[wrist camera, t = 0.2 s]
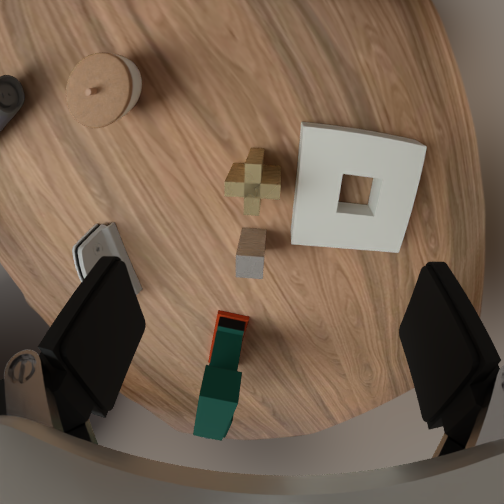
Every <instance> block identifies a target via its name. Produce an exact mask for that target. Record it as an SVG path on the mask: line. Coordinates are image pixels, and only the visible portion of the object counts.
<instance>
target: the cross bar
mask: <svg viewBox="0 0 504 504" xmlns="http://www.w3.org/2000/svg"><path fill="white" fill-rule="evenodd" d="M280 189H281V166H277V165H264V149H263V148H250V151H249V154H248V157H247V159H246V162H245V164H244V163H233V165H232V167H231V169H230V171H229V173H228V175H227V178H226V180H225V196H230V197H244V215H255V216H259V212H260V205H261V198H263V199H277V200H280Z"/></svg>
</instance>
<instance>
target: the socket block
mask: <svg viewBox="0 0 504 504" xmlns="http://www.w3.org/2000/svg"><path fill="white" fill-rule="evenodd" d="M426 149H427V147H426V146H425V145H423V144H422V143H420V142H418V141H417V140H414V139H409V138H405V137H400V136H395V135H390V134H385V133H380V132H374V131H368V130H362V129H356V128H349V127H343V126H335V125H327V124H319V123H310V122H301V132H300V144H299V155H298V166H297V176H296V186H295V196H294V206H293V215H292V224H291V244H295V245H308V246H321V247H334V248H347V249H359V250H371V251H384V252H395V253H399V250H400V247H401V244H402V241H403V238H404V235H405V231H406V228H407V225H408V221H409V218H410V215H411V211H412V207H413V204H414V200H415V196H416V192H417V188H418V184H419V180H420V176H421V172H422V167H423V163H424V158H425V154H426ZM343 174H349V175H357V176H364V177H372V178H373V182H372V187H371V192H370V197H369V202H368V205H363V204H355V203H345V202H338V200H339V194H340V188H341V182H342V176H343Z"/></svg>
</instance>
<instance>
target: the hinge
mask: <svg viewBox="0 0 504 504" xmlns="http://www.w3.org/2000/svg"><path fill="white" fill-rule="evenodd" d="M72 251H73V258H74V263H75V267H76V270H77V273H78V276H79V278H80V280H81V282H82V281H83V280H84V278H85V277H86V276H87V274H88V273H89V272H90V270H91V269H92V268H93V267H94V265H95V264H96V263H97V261H98V260H99V259H100V258H101V257H102V256H118V257H119V258H120V259H121V261H124V262H125V264H126V267H127V270H128V273H129V276H130V279H131V282H132V285H133V288H134V291H135V294H136V295H137V294H138V293H139V292H140V291H141V290H142V287H141V285H140V282H139V280H138V278H137V276H136V273H135V271H134V269H133V266H132V264H131V262H130V259H129V257H128V255H127V252H126V250H125V247H124V245H123V242H122V240H121V237H120V235H119V232H118V230H117V227H116V225H115V223H114V222H112V223H111V224H110V225H108V226H105V225H103V224H101V225H100V226H98V224H96V225H94V226H93V227H92V228H91V229H90V230H89V231H88V232H87V233H86V234H85V235H84V236H83V237H82V238H81V239H80V240H79V241H78V242H77V243H76V244H75V245H74V246H73V249H72Z"/></svg>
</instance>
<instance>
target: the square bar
mask: <svg viewBox="0 0 504 504" xmlns="http://www.w3.org/2000/svg"><path fill="white" fill-rule="evenodd" d="M265 243H266V229H257V228H242V230H241V235H240V239H239V243H238V248H237V252H236V277H242V278H255V279H263V268H264V256H265Z"/></svg>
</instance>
